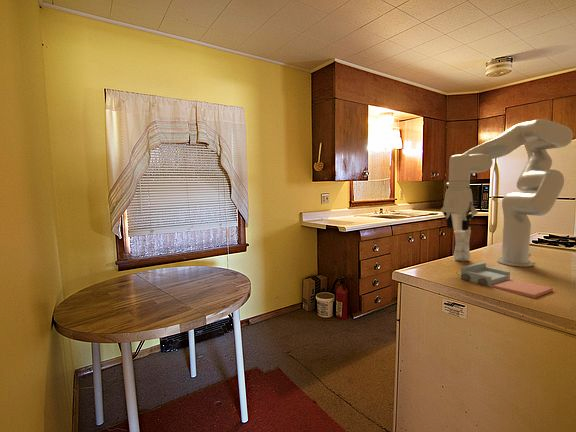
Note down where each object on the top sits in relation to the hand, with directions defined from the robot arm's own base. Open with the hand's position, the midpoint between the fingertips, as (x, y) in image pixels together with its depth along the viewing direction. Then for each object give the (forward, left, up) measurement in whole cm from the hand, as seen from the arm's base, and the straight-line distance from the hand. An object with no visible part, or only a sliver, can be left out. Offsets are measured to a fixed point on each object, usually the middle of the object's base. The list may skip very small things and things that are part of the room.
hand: (457, 228), depth 124 cm
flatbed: (+5, +15, -17) cm, 23 cm away
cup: (0, 0, -2) cm, 2 cm away
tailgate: (+5, +27, -17) cm, 32 cm away
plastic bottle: (-14, -6, -18) cm, 23 cm away
